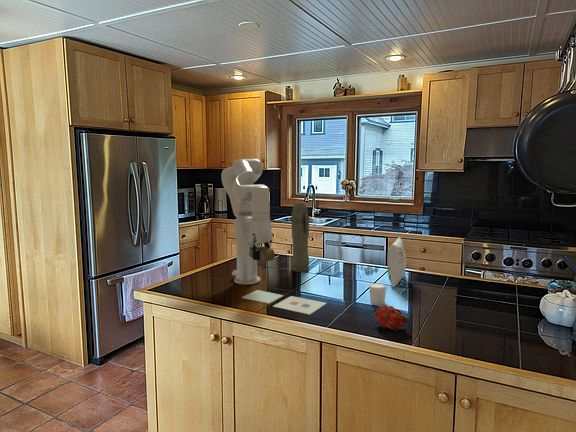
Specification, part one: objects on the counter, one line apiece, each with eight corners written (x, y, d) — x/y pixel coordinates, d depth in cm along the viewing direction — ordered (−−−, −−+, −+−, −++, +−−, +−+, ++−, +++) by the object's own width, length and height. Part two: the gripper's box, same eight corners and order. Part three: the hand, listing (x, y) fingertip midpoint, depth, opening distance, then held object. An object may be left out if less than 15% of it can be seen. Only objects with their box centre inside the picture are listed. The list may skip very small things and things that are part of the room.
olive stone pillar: (303, 273, 211) (303, 205, 206) (286, 269, 219) (285, 203, 214) (314, 269, 218) (314, 203, 213) (297, 266, 226) (297, 202, 221)
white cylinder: (387, 300, 171) (387, 283, 170) (385, 305, 165) (385, 288, 164) (370, 298, 173) (370, 282, 172) (367, 304, 167) (368, 287, 166)
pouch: (409, 277, 202) (410, 237, 199) (400, 289, 185) (401, 245, 182) (392, 275, 205) (393, 236, 202) (382, 286, 189) (383, 243, 186)
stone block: (264, 262, 168) (264, 250, 168) (248, 258, 177) (247, 246, 176) (275, 260, 172) (275, 248, 171) (259, 255, 181) (258, 244, 180)
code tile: (272, 306, 166) (272, 305, 165) (291, 296, 177) (291, 295, 177) (309, 314, 156) (309, 314, 156) (326, 303, 168) (326, 302, 168)
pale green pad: (241, 298, 176) (241, 297, 176) (257, 290, 185) (257, 290, 185) (268, 304, 168) (268, 303, 168) (283, 296, 178) (283, 295, 177)
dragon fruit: (372, 326, 148) (405, 339, 142) (366, 320, 142) (400, 333, 135) (381, 305, 151) (413, 316, 144) (375, 297, 144) (409, 309, 138)
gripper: (265, 212, 181) (266, 252, 184) (240, 218, 166) (241, 261, 169) (279, 213, 177) (280, 254, 180) (255, 219, 162) (256, 263, 165)
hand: (261, 257), depth 174 cm, fingers closed on stone block, 7 cm apart
